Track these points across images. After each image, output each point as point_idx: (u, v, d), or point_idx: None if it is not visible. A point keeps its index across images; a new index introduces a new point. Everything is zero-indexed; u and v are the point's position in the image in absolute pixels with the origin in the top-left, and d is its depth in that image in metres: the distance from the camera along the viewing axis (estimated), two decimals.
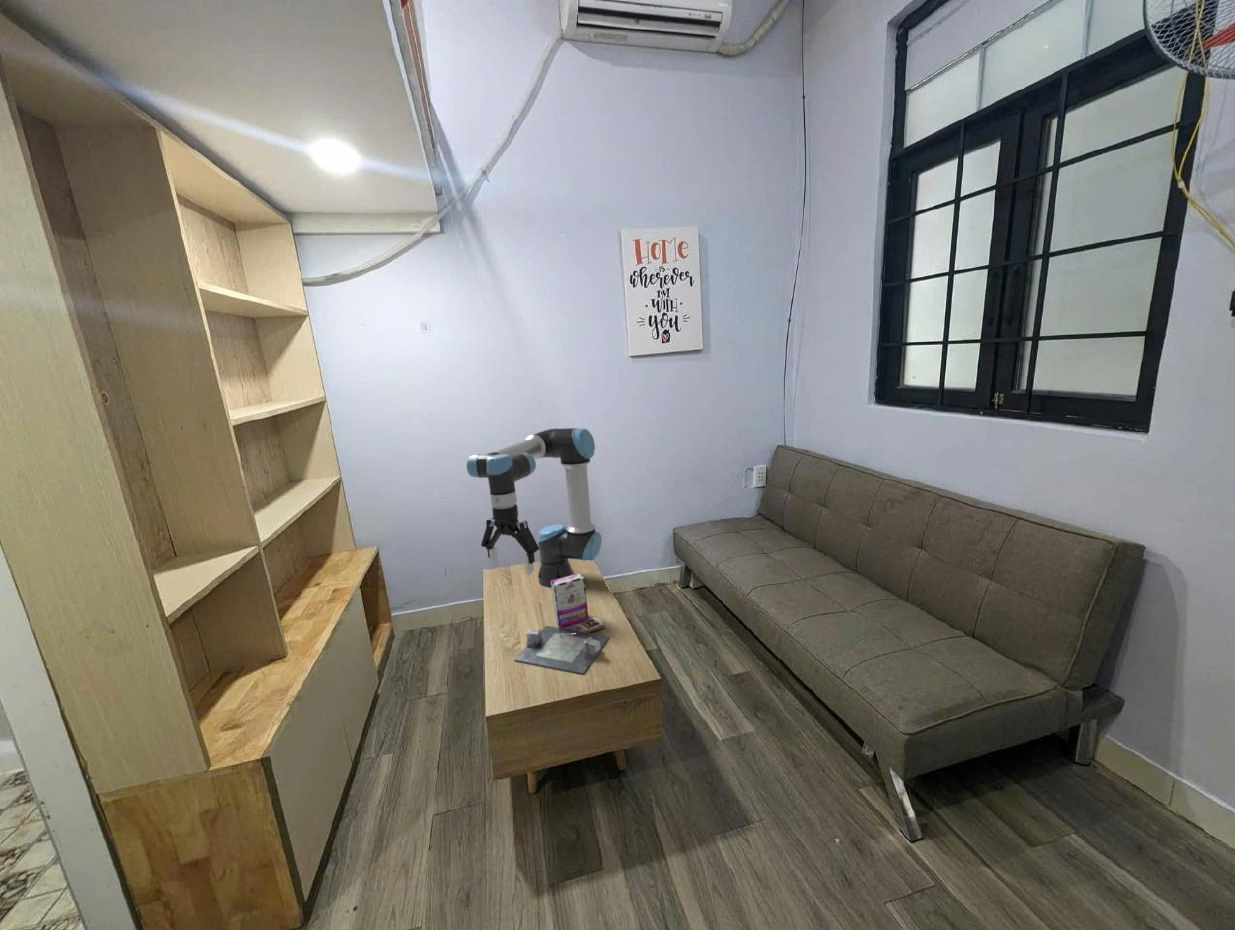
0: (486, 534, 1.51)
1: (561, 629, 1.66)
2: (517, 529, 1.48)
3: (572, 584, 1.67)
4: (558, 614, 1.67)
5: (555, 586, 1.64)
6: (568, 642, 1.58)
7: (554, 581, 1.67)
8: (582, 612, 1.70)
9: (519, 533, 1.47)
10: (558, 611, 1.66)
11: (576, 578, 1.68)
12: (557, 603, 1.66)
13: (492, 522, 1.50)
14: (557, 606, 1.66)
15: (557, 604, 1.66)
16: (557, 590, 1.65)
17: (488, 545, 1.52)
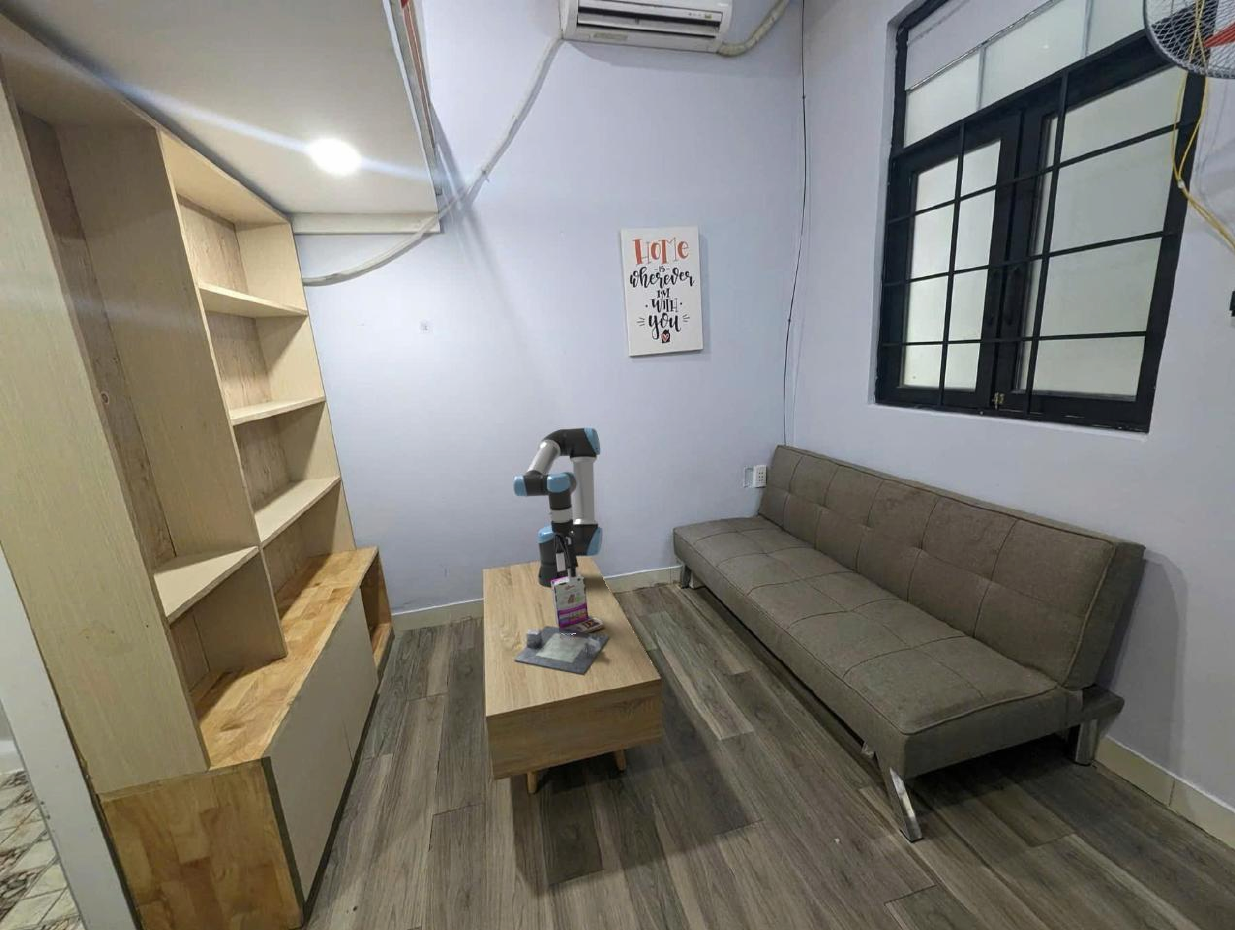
0: (554, 540, 1.72)
1: (561, 629, 1.66)
2: None
3: None
4: (558, 614, 1.67)
5: (555, 586, 1.64)
6: (568, 642, 1.58)
7: (554, 581, 1.67)
8: (582, 612, 1.70)
9: None
10: (558, 611, 1.66)
11: None
12: (557, 603, 1.66)
13: None
14: (557, 606, 1.66)
15: (557, 604, 1.66)
16: (557, 590, 1.65)
17: (556, 550, 1.72)
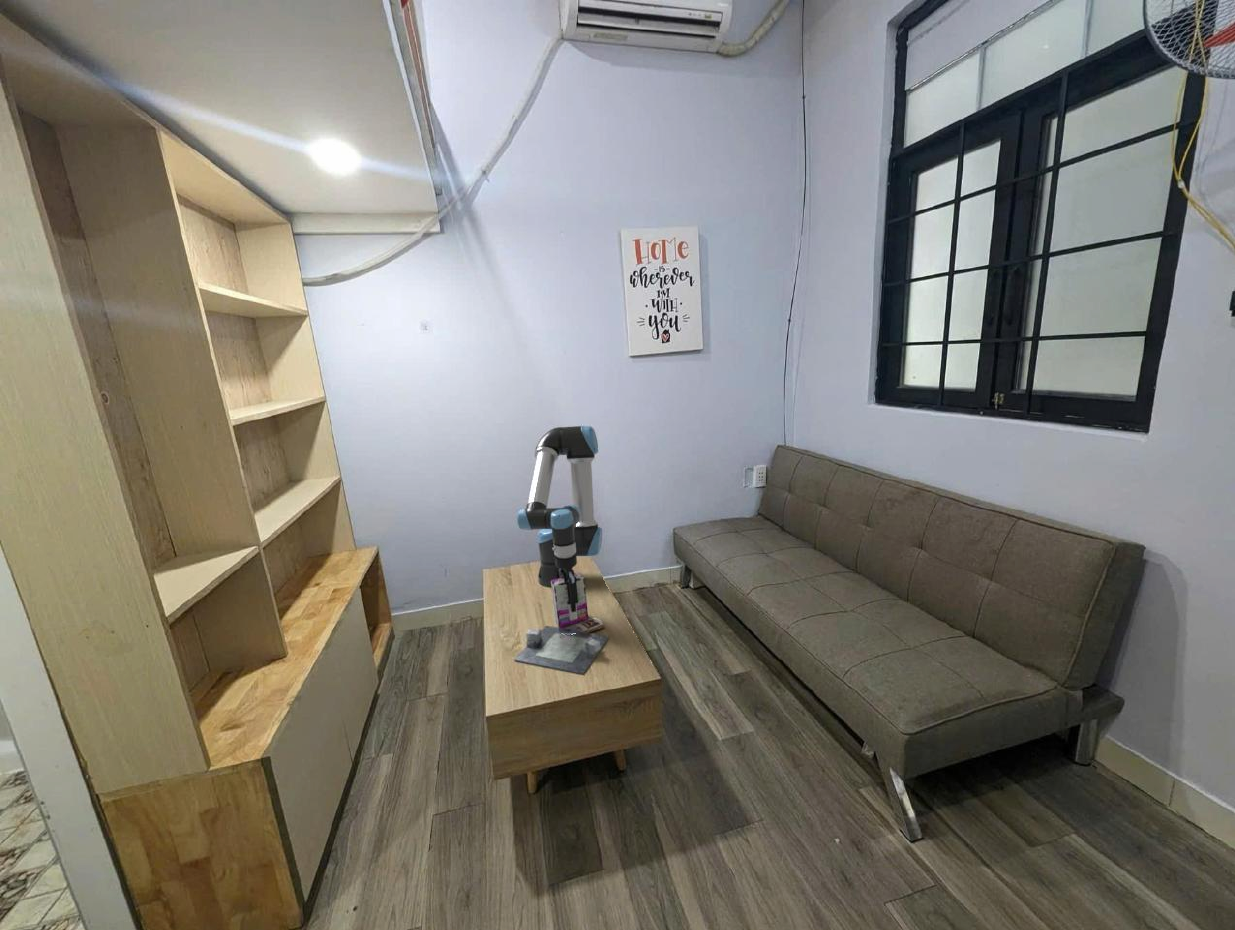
0: None
1: (561, 629, 1.66)
2: None
3: None
4: (558, 614, 1.67)
5: (555, 586, 1.64)
6: (568, 642, 1.58)
7: (554, 581, 1.67)
8: (582, 612, 1.70)
9: None
10: (558, 611, 1.66)
11: None
12: (557, 603, 1.66)
13: None
14: (557, 606, 1.66)
15: (557, 604, 1.66)
16: (557, 590, 1.65)
17: None
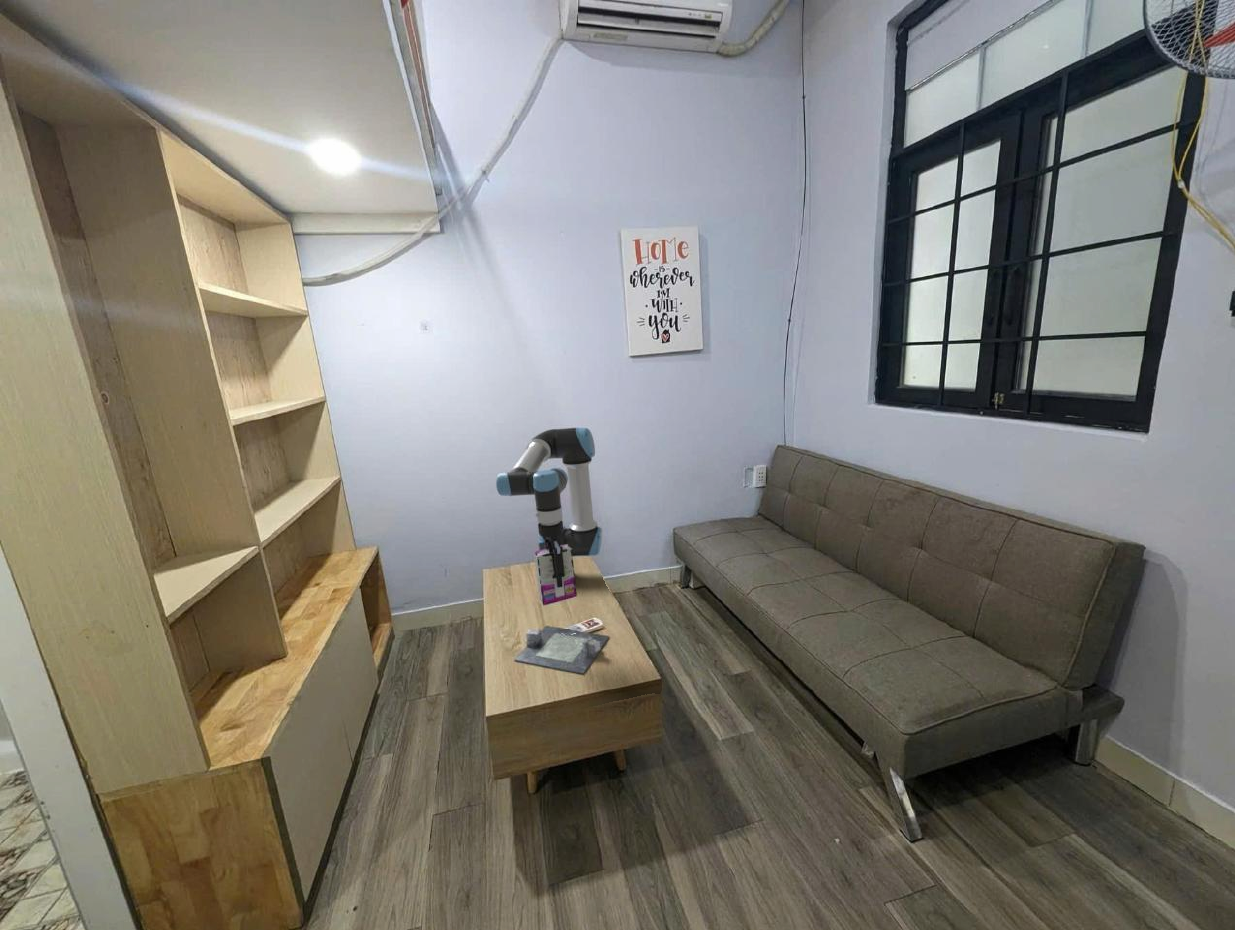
0: None
1: (561, 629, 1.66)
2: None
3: None
4: (542, 590, 1.47)
5: (538, 557, 1.44)
6: (568, 642, 1.58)
7: (537, 552, 1.47)
8: (570, 588, 1.50)
9: None
10: (542, 586, 1.46)
11: (563, 549, 1.48)
12: (541, 577, 1.46)
13: (546, 537, 1.52)
14: (541, 580, 1.46)
15: (541, 578, 1.46)
16: (540, 562, 1.45)
17: None
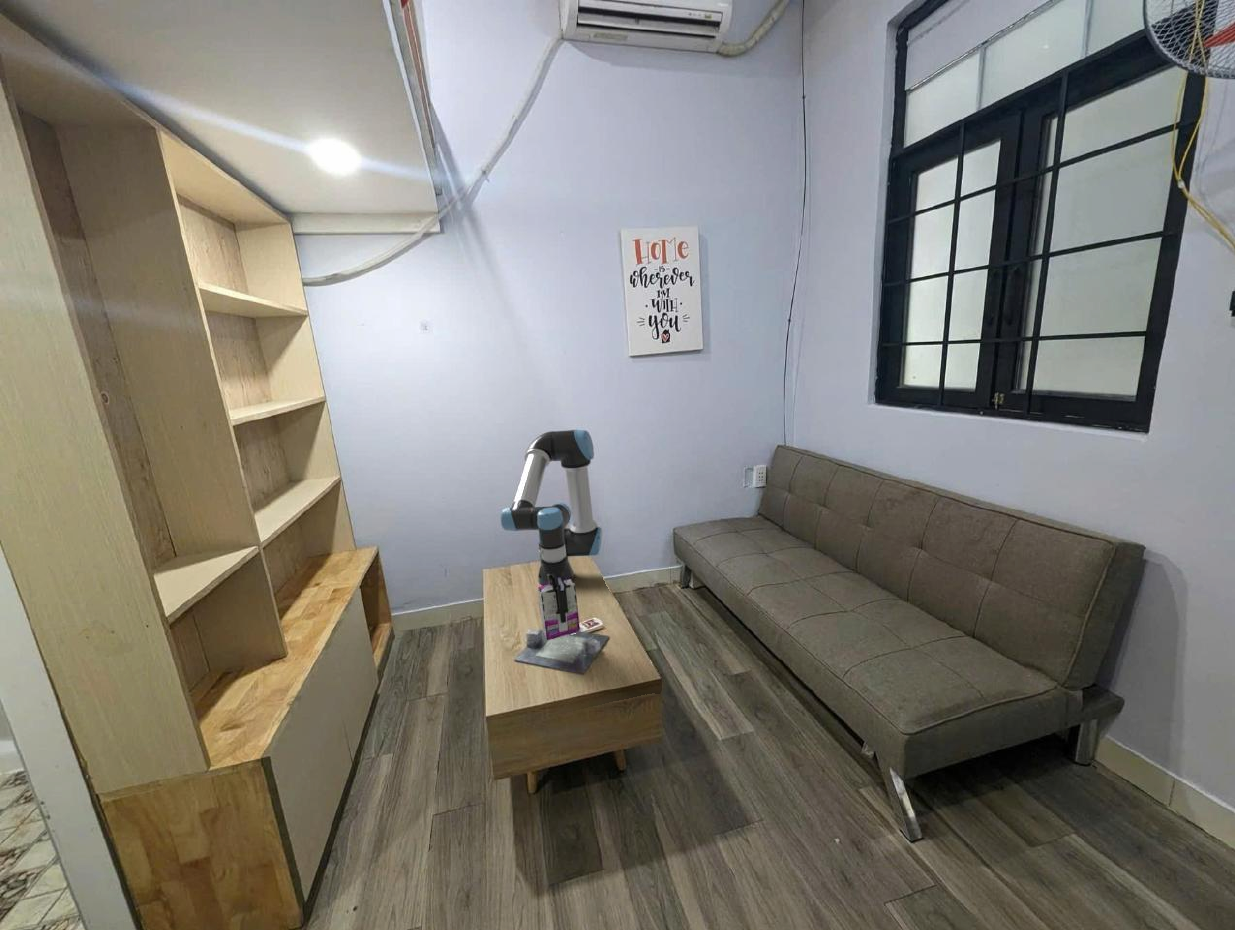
0: None
1: None
2: None
3: None
4: (546, 625, 1.49)
5: (542, 594, 1.47)
6: (568, 642, 1.58)
7: (541, 588, 1.50)
8: (573, 622, 1.53)
9: None
10: (546, 622, 1.49)
11: (566, 585, 1.50)
12: (545, 613, 1.48)
13: None
14: (545, 616, 1.48)
15: (545, 614, 1.48)
16: (544, 598, 1.47)
17: None
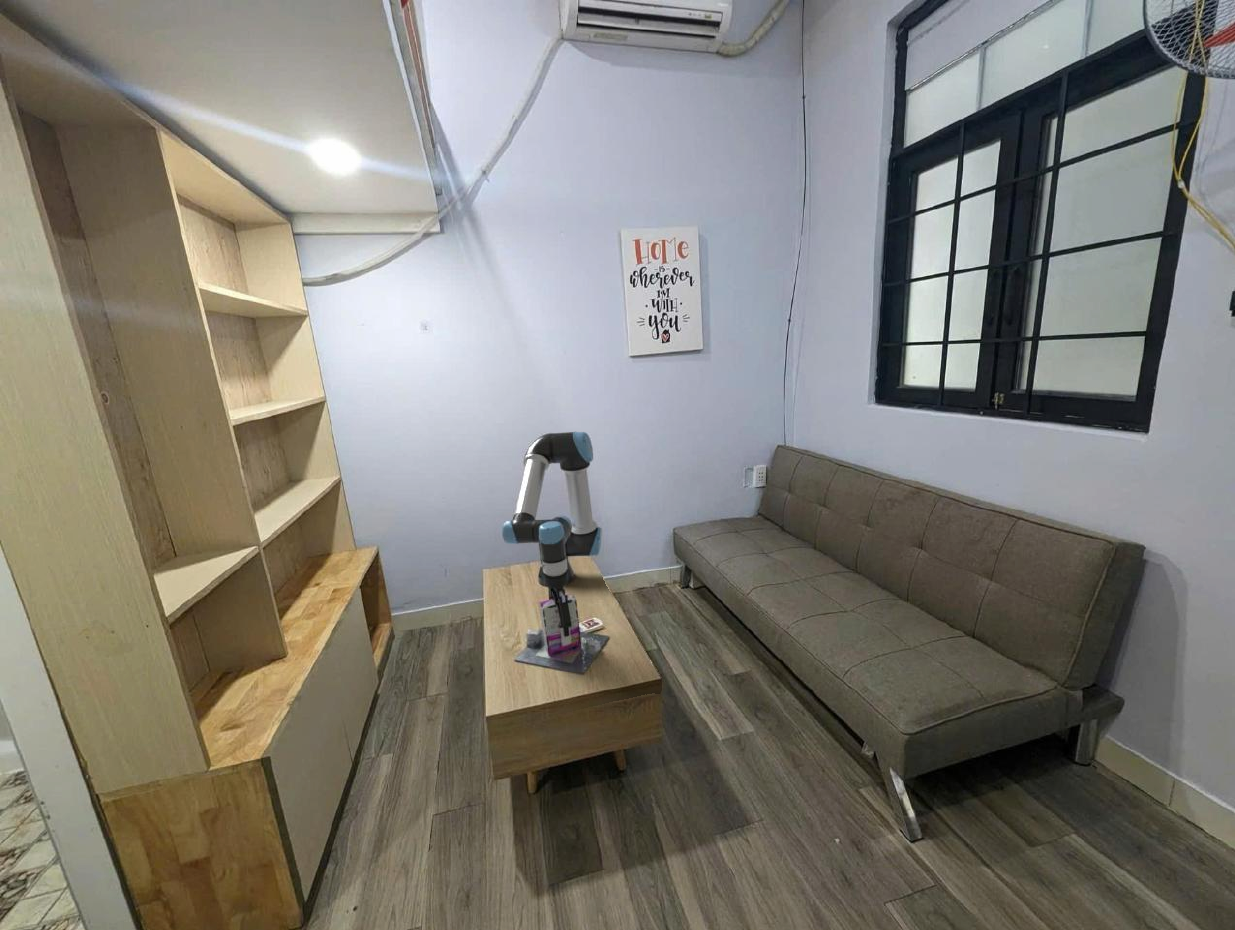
0: (549, 594, 1.57)
1: None
2: None
3: None
4: (547, 640, 1.50)
5: (544, 609, 1.48)
6: None
7: (543, 603, 1.51)
8: (575, 637, 1.54)
9: None
10: (547, 636, 1.50)
11: None
12: (546, 628, 1.50)
13: None
14: (546, 631, 1.50)
15: (546, 629, 1.50)
16: (546, 613, 1.49)
17: None
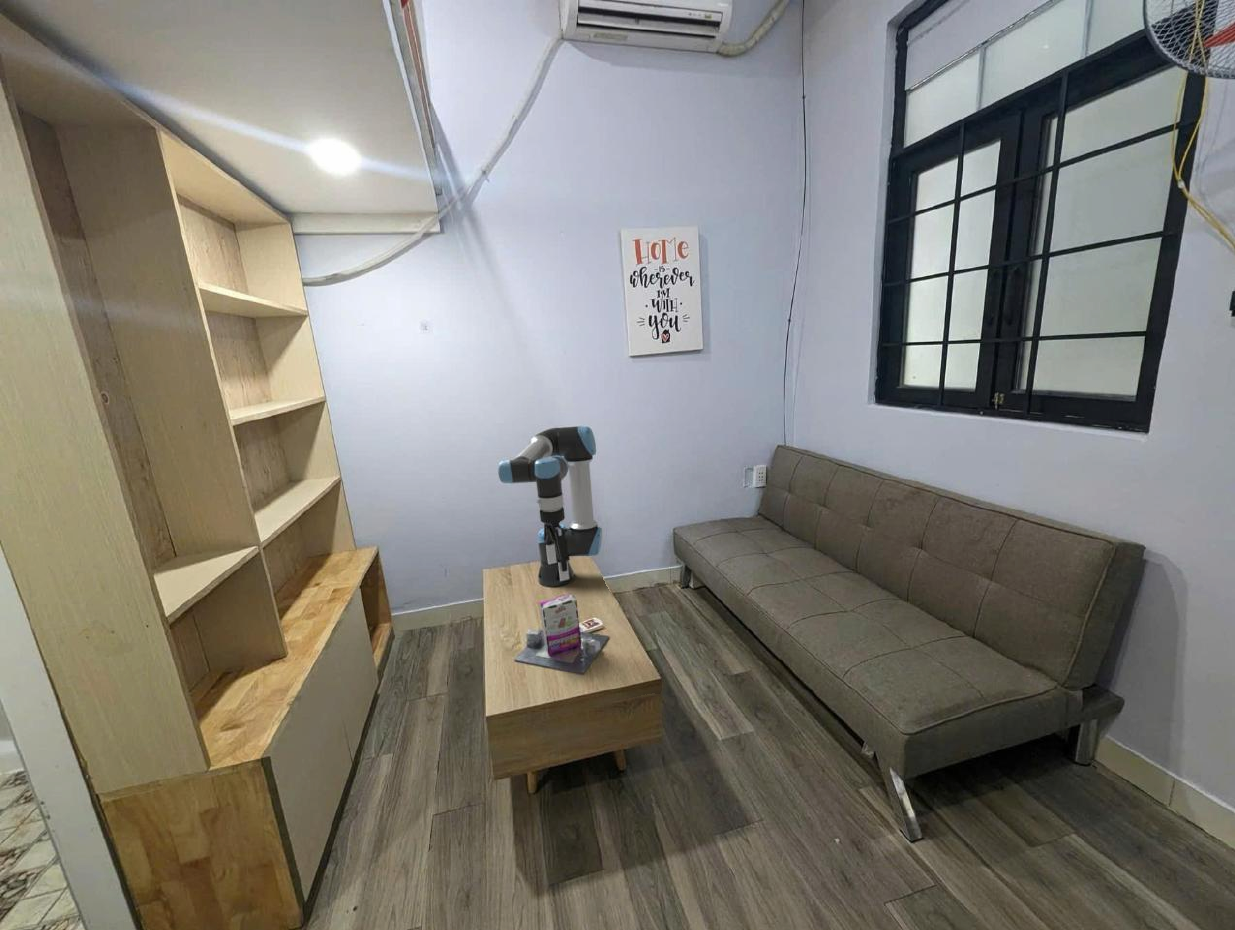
0: (544, 530, 1.57)
1: None
2: None
3: (563, 607, 1.51)
4: (547, 640, 1.50)
5: (544, 609, 1.48)
6: None
7: (543, 603, 1.51)
8: (575, 637, 1.54)
9: None
10: (547, 637, 1.50)
11: (567, 600, 1.52)
12: (546, 628, 1.50)
13: None
14: (546, 631, 1.50)
15: (547, 629, 1.50)
16: (546, 614, 1.49)
17: (546, 541, 1.58)
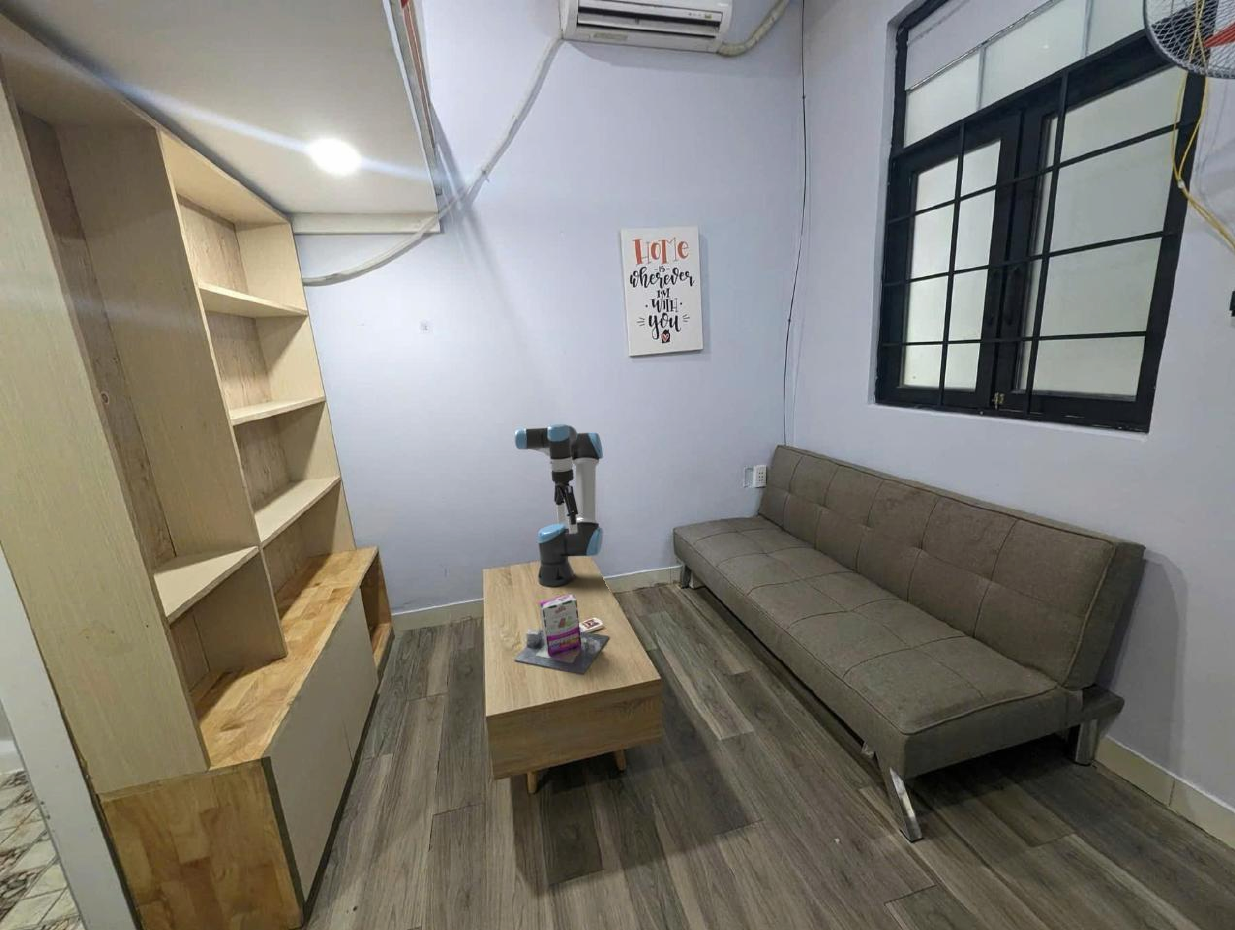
0: (555, 491, 1.76)
1: None
2: None
3: (563, 607, 1.51)
4: (547, 640, 1.50)
5: (544, 609, 1.48)
6: None
7: (543, 603, 1.51)
8: (575, 637, 1.54)
9: None
10: (547, 637, 1.50)
11: (567, 600, 1.52)
12: (546, 628, 1.50)
13: None
14: (546, 631, 1.50)
15: (547, 629, 1.50)
16: (546, 614, 1.49)
17: (556, 501, 1.76)
